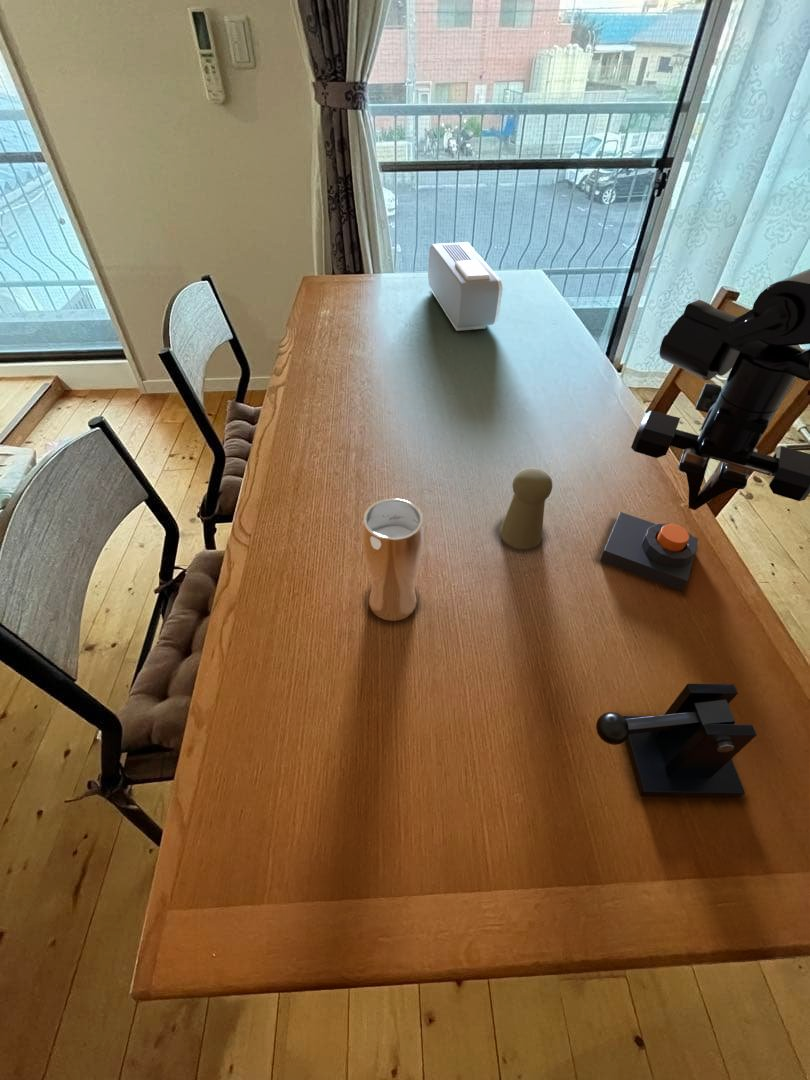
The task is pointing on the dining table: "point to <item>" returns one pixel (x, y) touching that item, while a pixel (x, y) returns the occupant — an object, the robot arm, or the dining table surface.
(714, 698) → the switch bracket
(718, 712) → the switch
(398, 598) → the beer glass
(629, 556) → the button box
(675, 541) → the button
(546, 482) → the olive game pawn
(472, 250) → the alarm clock
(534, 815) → the dining table surface
